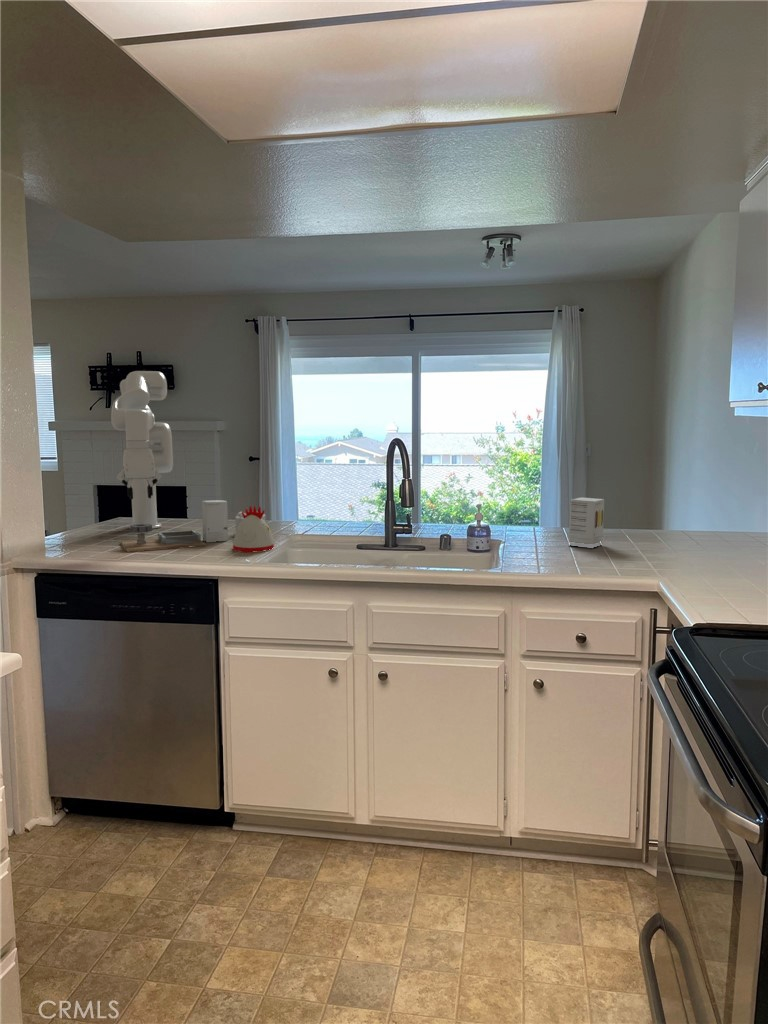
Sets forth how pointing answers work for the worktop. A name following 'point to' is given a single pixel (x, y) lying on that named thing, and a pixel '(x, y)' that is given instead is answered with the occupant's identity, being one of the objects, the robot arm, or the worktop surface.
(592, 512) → the supplement box
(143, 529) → the wheel
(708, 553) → the worktop surface
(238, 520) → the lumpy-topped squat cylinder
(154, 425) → the robot arm
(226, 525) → the skincare box
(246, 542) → the white red crested helmet
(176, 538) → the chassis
